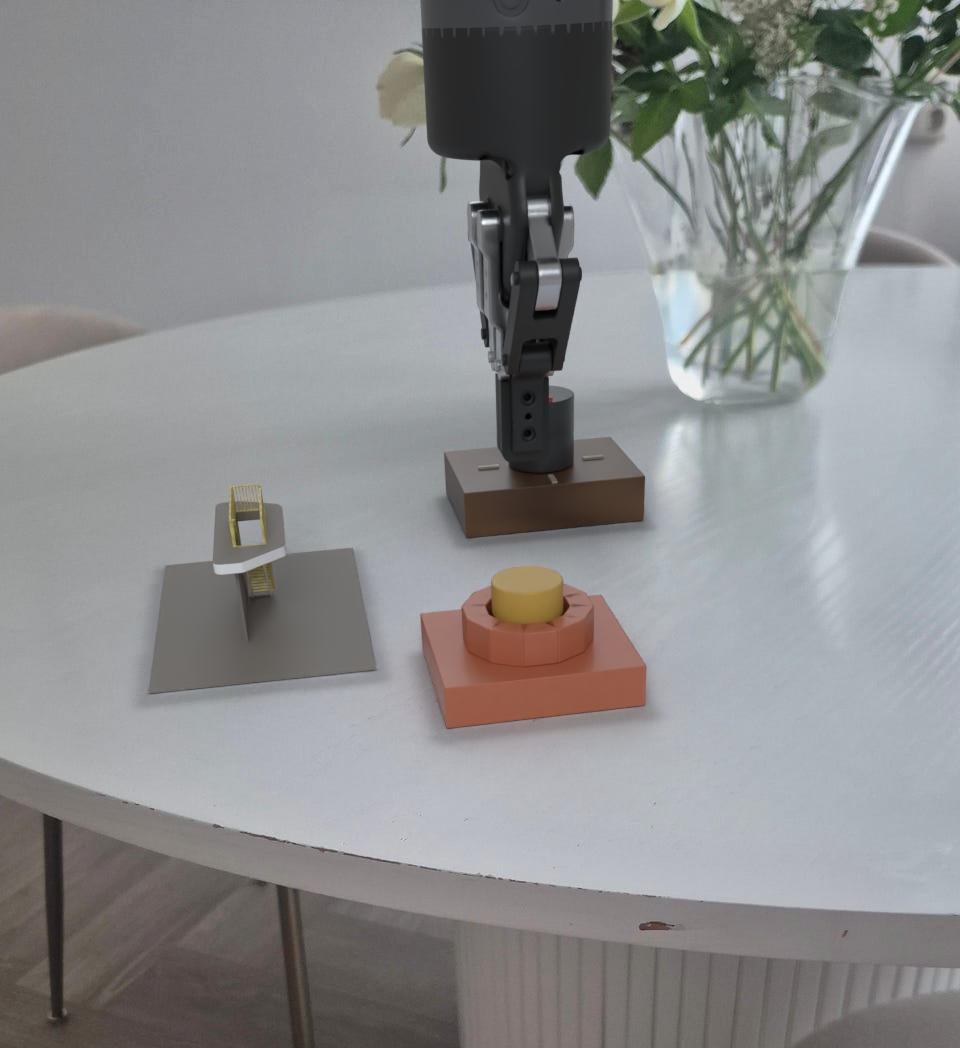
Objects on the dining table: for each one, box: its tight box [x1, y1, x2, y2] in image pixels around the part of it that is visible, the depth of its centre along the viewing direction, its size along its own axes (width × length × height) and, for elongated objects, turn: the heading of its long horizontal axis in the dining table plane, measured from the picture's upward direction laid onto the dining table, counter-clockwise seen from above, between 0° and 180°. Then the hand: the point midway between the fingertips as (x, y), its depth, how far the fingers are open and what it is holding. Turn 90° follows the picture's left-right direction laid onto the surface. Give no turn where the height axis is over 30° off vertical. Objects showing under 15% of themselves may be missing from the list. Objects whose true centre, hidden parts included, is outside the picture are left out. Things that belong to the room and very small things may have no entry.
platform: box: [147, 483, 377, 695], centre depth 72 cm, size 12×18×7 cm, turn 9°
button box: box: [419, 582, 648, 729], centre depth 65 cm, size 10×9×4 cm
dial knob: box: [509, 385, 575, 473], centre depth 84 cm, size 4×4×5 cm
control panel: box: [443, 436, 646, 539], centre depth 86 cm, size 12×9×3 cm
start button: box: [490, 565, 564, 624], centre depth 63 cm, size 4×4×2 cm
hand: (522, 456), depth 59 cm, fingers closed
